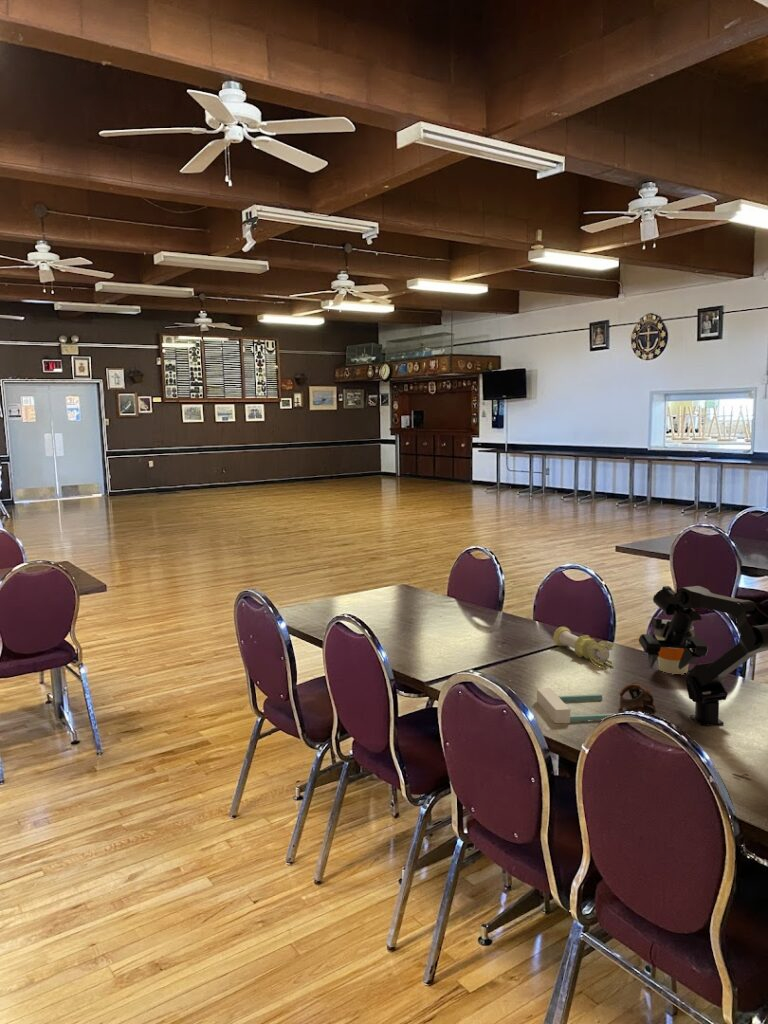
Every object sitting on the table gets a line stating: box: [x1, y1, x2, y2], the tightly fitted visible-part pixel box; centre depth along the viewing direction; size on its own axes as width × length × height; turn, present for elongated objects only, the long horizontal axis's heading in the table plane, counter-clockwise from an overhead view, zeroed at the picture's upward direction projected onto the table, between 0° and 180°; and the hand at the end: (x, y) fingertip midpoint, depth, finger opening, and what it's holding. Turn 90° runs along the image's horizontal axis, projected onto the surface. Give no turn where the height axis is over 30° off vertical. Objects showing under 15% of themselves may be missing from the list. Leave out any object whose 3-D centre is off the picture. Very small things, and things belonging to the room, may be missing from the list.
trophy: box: [553, 626, 615, 670], centre depth 261 cm, size 8×8×30 cm
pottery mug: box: [619, 682, 657, 712], centre depth 212 cm, size 12×10×8 cm
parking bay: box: [536, 687, 615, 724], centre depth 211 cm, size 17×20×4 cm
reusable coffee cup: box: [653, 625, 696, 675], centre depth 244 cm, size 12×13×15 cm
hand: (664, 667), depth 217 cm, fingers open, 9 cm apart
